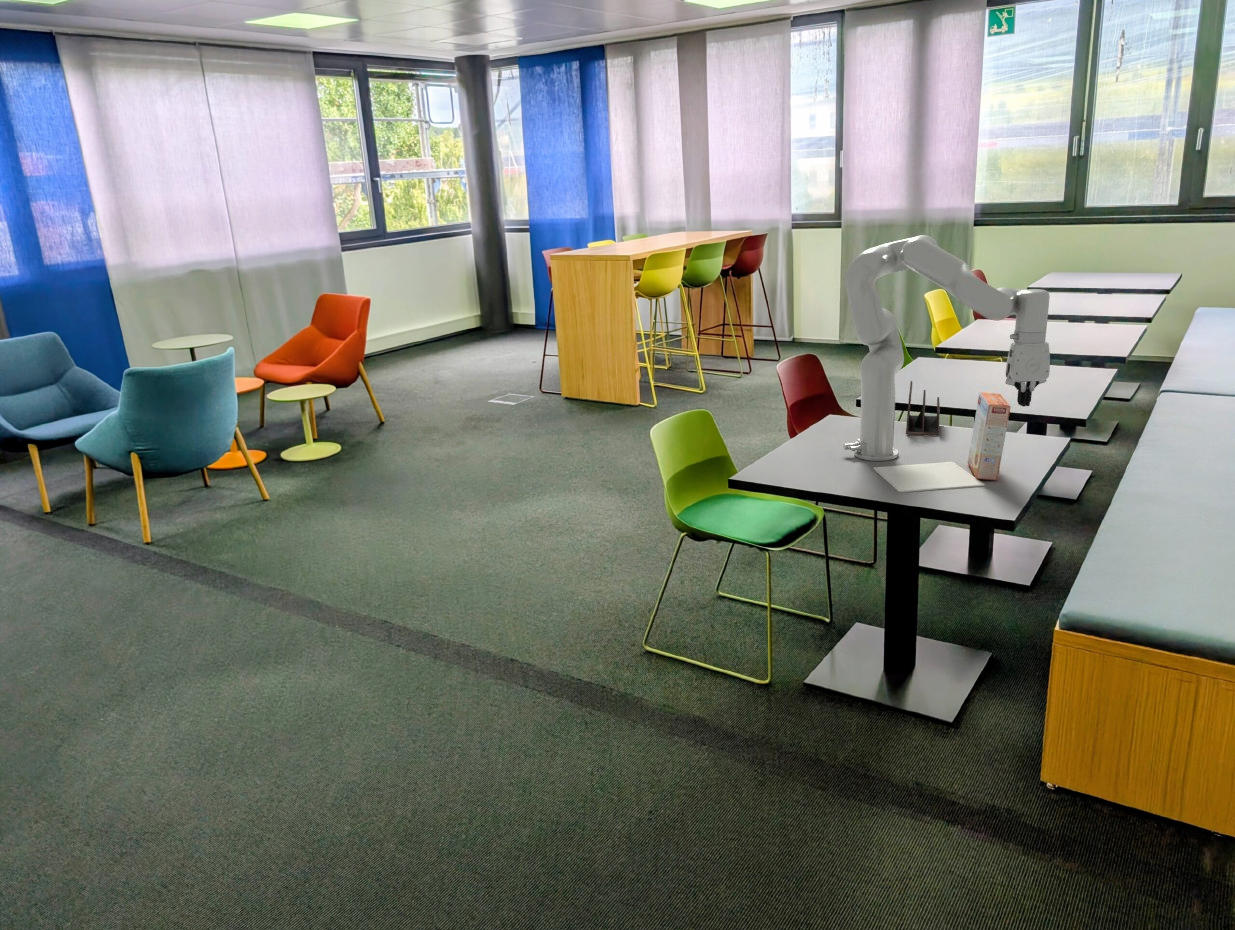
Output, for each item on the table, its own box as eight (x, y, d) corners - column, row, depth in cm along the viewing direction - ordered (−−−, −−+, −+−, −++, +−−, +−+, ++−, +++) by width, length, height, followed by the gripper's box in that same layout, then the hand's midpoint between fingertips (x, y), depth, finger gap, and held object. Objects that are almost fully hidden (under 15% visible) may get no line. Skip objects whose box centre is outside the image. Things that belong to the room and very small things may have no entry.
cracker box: (998, 481, 242) (1012, 405, 236) (975, 479, 244) (987, 404, 237) (989, 465, 255) (1001, 392, 249) (966, 463, 257) (978, 391, 250)
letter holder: (905, 435, 287) (907, 391, 283) (907, 418, 305) (909, 377, 300) (939, 436, 284) (941, 392, 280) (938, 419, 302) (941, 378, 297)
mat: (899, 492, 239) (899, 491, 238) (873, 468, 258) (873, 467, 257) (984, 486, 240) (984, 484, 240) (952, 462, 259) (952, 461, 259)
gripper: (1009, 341, 235) (1003, 410, 240) (1065, 338, 236) (1058, 406, 241) (995, 336, 242) (990, 403, 248) (1049, 333, 243) (1043, 400, 248)
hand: (1023, 405), depth 244 cm, fingers closed
